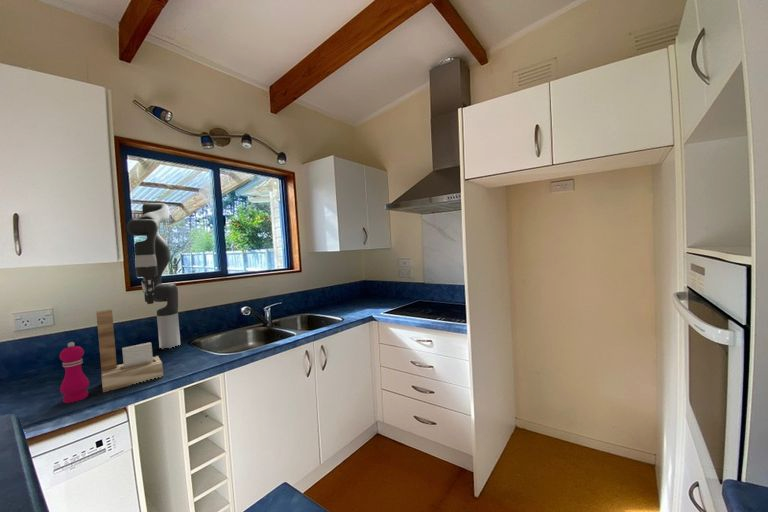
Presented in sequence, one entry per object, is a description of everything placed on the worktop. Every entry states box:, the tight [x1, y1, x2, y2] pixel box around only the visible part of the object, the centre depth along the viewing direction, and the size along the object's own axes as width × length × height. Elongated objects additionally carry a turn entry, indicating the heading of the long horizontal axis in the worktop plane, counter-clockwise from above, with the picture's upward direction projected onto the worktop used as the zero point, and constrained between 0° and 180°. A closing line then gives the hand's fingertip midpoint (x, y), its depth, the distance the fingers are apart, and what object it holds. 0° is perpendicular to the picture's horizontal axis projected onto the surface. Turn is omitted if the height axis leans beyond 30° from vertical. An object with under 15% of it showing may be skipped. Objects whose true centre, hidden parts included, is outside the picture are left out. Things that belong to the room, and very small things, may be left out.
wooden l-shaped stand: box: [96, 309, 164, 393], centre depth 123 cm, size 12×18×28 cm, turn 132°
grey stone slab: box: [121, 342, 154, 369], centre depth 125 cm, size 3×9×12 cm, turn 132°
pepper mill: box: [59, 341, 90, 404], centre depth 109 cm, size 7×7×20 cm
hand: (149, 302), depth 136 cm, fingers open, 8 cm apart
